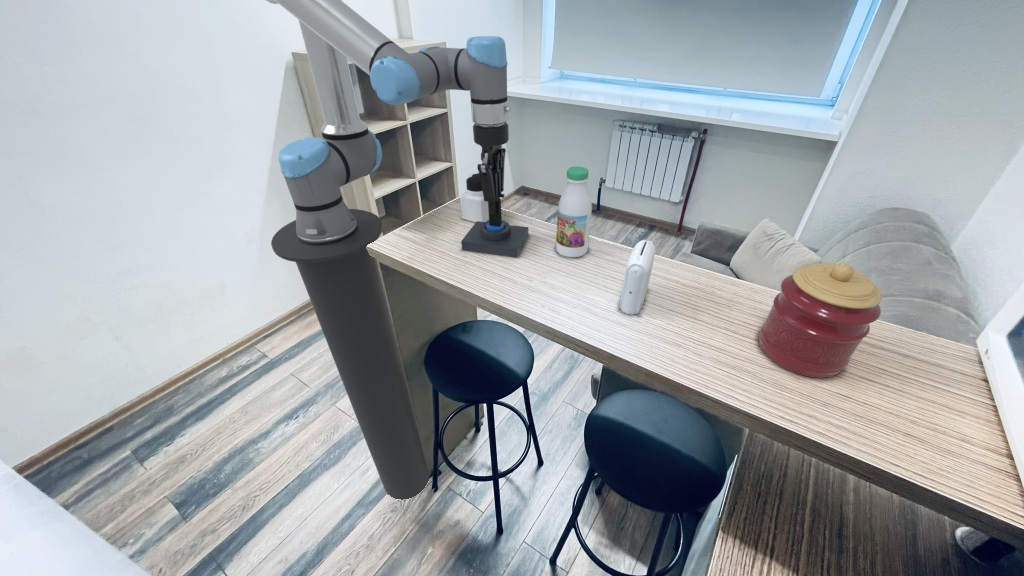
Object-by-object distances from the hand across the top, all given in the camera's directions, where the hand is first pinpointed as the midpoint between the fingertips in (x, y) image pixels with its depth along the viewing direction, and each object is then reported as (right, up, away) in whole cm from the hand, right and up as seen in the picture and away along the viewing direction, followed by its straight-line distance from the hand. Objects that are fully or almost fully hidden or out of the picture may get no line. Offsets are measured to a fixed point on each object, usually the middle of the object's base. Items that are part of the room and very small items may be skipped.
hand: (495, 224), depth 99 cm
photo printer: (+29, -18, -17) cm, 38 cm away
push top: (0, -2, +1) cm, 2 cm away
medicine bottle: (-5, +4, +15) cm, 17 cm away
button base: (0, -4, +3) cm, 5 cm away
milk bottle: (+18, -7, 0) cm, 20 cm away
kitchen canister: (+53, -27, -29) cm, 66 cm away
